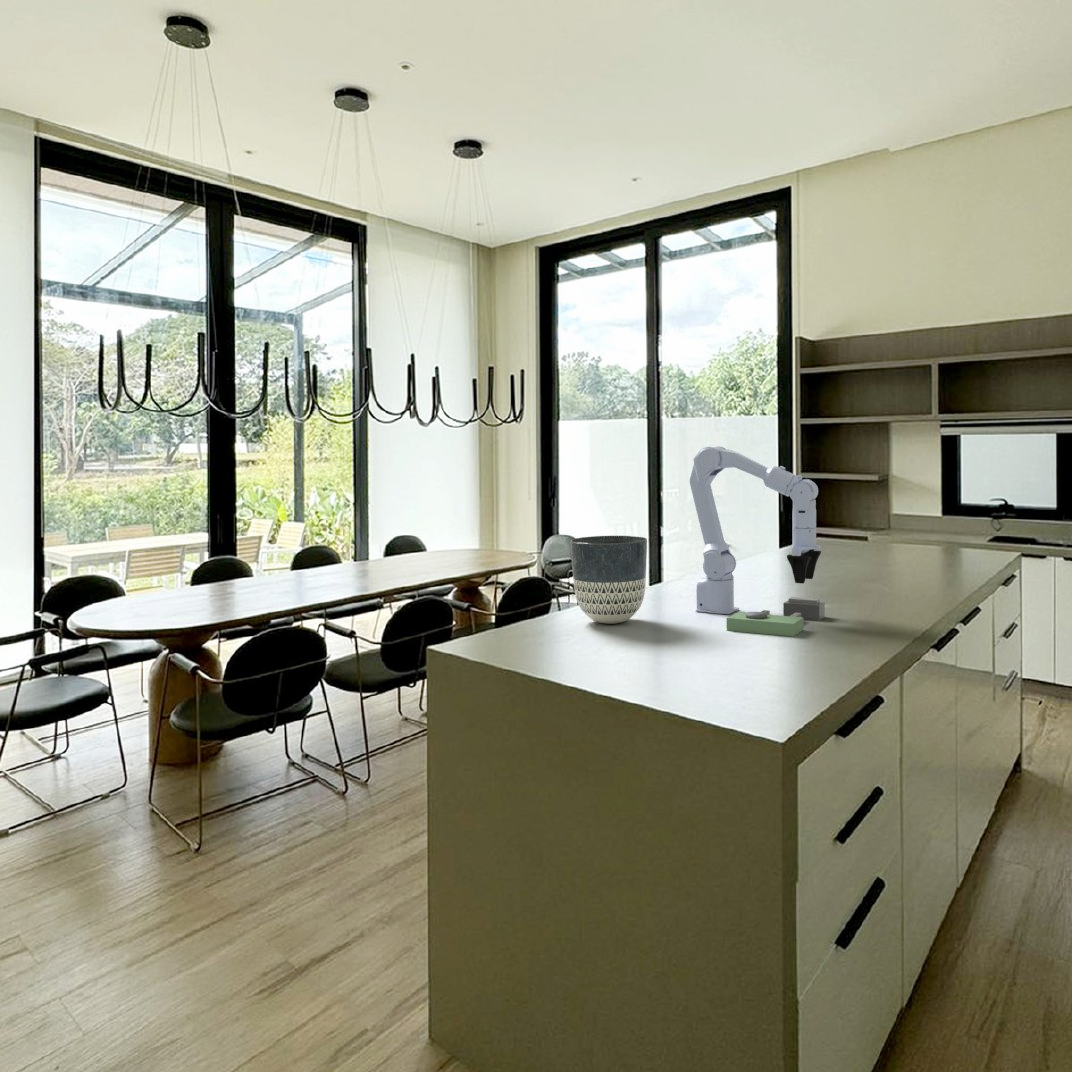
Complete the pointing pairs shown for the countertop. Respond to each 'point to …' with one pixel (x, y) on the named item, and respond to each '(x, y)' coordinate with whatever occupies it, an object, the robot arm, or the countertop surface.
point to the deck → (766, 623)
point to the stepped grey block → (804, 608)
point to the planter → (609, 576)
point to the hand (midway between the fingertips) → (804, 580)
